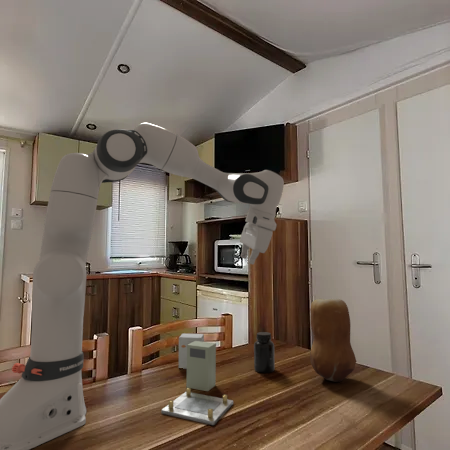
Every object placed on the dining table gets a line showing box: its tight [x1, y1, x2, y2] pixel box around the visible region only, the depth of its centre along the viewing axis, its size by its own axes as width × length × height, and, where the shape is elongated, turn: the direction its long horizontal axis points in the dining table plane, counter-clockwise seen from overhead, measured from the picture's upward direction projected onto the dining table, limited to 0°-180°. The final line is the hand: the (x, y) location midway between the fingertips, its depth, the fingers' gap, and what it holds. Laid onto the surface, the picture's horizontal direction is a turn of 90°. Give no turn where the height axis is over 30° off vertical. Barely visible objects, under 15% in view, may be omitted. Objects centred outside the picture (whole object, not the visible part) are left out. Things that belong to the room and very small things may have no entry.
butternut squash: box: [309, 298, 357, 383], centre depth 104 cm, size 14×13×25 cm
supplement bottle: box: [253, 331, 276, 374], centre depth 112 cm, size 7×7×12 cm
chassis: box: [160, 387, 234, 426], centre depth 83 cm, size 12×14×2 cm
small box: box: [178, 333, 205, 370], centre depth 115 cm, size 8×6×10 cm
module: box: [186, 341, 217, 392], centre depth 98 cm, size 5×7×12 cm
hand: (246, 260), depth 109 cm, fingers open, 8 cm apart
